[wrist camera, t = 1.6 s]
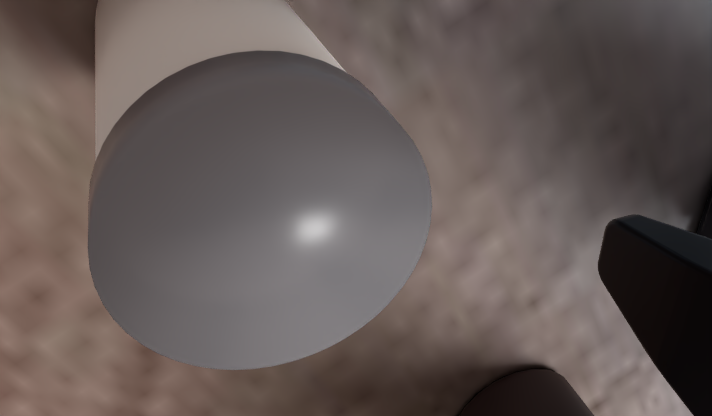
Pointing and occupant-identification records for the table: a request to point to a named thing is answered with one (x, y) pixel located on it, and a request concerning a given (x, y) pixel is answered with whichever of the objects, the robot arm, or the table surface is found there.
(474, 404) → the vinegar
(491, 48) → the table surface
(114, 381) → the table surface
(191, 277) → the shaker
